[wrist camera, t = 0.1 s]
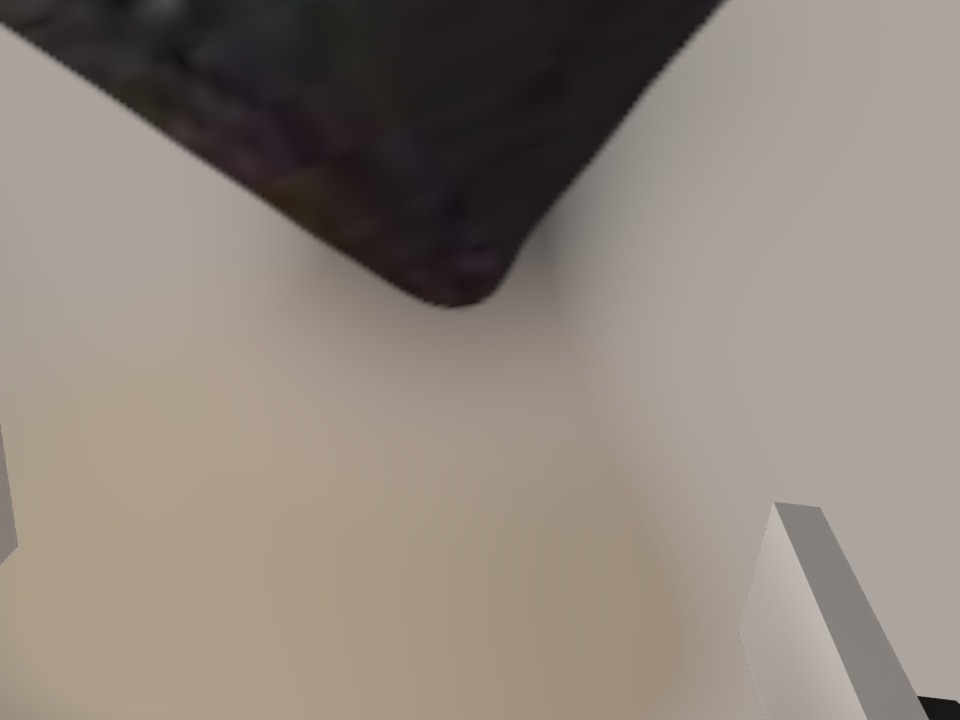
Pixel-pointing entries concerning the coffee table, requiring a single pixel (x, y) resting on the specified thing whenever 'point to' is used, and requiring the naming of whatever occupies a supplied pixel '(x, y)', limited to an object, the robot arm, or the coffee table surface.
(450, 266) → the coffee table surface
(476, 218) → the coffee table surface
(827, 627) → the robot arm
